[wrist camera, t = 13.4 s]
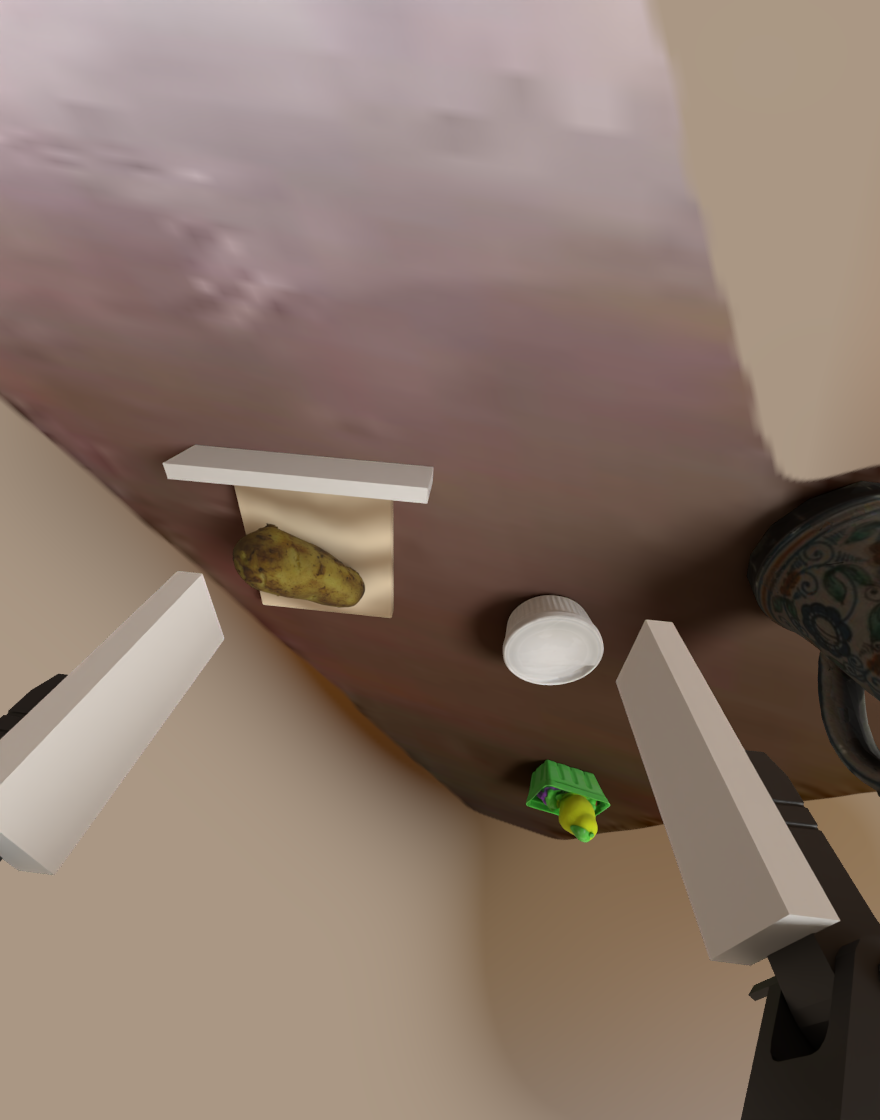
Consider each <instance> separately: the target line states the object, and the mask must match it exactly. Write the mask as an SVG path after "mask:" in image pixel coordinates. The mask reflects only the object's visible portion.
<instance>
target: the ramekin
mask: <svg viewBox="0 0 880 1120" xmlns="http://www.w3.org/2000/svg"><path fill="white" fill-rule="evenodd" d="M603 650H604V647H603V641H602V637H601V635H600V633H599V631H598V629H597V628H596V627H595V625H594V624H593V623H592V622H591V620H590V618H589V617H588V615H587V613H586V612H585V611H584V609H583V608H582V607H581V606H580V605H579V604H578V603H576V602H575V601H573V600H571V599H568V598H566V597H562V596H556V595H543V596H538V597H534V598H531V599H529V600H527V601H525V602H524V603H522V604H520V605H519V606H518V607H517V608H516V609H515V610H514V611H513V612H512V613H511V615H510V617H509V620H508V623H507V629H506V636H505V640H504V643H503V658H504V662H505V664H506V666H507V667H508V669H509V670H510V671H511V672H512V673H513V674H515V675H516V676H517V677H519V678H521V679H523V680H525V681H528V682H531V683H535V684H541V685H559V684H565V683H569V682H573V681H575V680H578V679H580V678H582V677H584V676H586V675H587V674H589V673H590V672H591V671H592V670H593V669H594V668H595V667H596V666H597V665H598V664H599V662H600V660H601V658H602V655H603Z"/></svg>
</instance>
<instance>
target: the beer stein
mask: <svg viewBox="0 0 880 1120" xmlns="http://www.w3.org/2000/svg"><path fill="white" fill-rule="evenodd" d="M747 578H748V580H749V583H750V585H751V588H752V590H753V593H754V595H755V598H756V600H757V602H758V605H759V607H760V608H761V609H762V611H763V612H764V613H765V614H766V615H767V616H768V617H769V618H770V619H771V620H772V621H774V622H775V623H777V624H778V625H780V626H782V627H783V628H786V629H788V630H790V631H793V632H795V633H797V634H799V635H800V636H802V637H803V638H805V639H806V640H807V641H809V642H810V643H811V644H813V645H814V646H815V647H817V648H818V649H819V650H820V655H819V661H818V694H819V703H820V708H821V715H822V720H823V723H824V727H825V730H826V733H827V735H828V738H829V740H830V743H831V745H832V746H833V748H834V750H835V752H836V753H837V755H838V756H839V758H840V759H841V761H842V762H843V763H844V765H845V766H846V767H847V768H848V769H849V770H850V771H851V772H852V773H853V774H854V775H855V776H856V777H858V778H859V779H860V780H861V781H862V782H864V783H865V784H867V785H868V786H870V787H872V788H873V789H875V790H877V793H878V795H879V797H880V751H879V749H878V747H877V746H876V744H875V742H874V739H873V737H872V734H871V731H870V728H869V725H868V720H867V714H866V707H865V695H864V690H866V691H867V692H869V693H870V694H871V695H872V696H874V697H875V698H876V699H878V700H879V701H880V483H873V482H865V481H860V482H857V483H854V484H852V485H849V486H846V487H843V488H840V489H837V490H835V491H832V492H829V493H826V494H823V495H820V496H818V497H815V498H812V499H809V500H807V501H806V502H804V503H803V504H801V505H800V506H799V507H797V508H796V509H794V510H793V511H791V512H790V513H789V514H787V515H786V516H784V517H783V518H781V519H780V520H779V521H777V522H776V523H774V524H773V525H772V526H770V528H769V529H768V531H767V532H766V533H765V535H764V536H763V538H762V539H761V541H760V542H759V543H758V545H757V546H756V548H755V549H754V550H753V552H752V553H751V555H750V560H749V566H748V572H747Z"/></svg>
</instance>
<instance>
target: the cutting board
mask: <svg viewBox="0 0 880 1120" xmlns="http://www.w3.org/2000/svg"><path fill="white" fill-rule="evenodd" d="M234 487H235V491H236V496H237V500H238V504H239V508H240V512H241V516H242V520H243V524H244V528H245V532H246V535H247V534H249V533H252V532H254V531H256V530H258V529H259V528H263V527H265V526H267V524H266V523H268V524H274V525H276V526H277V527H278V529H280V530H282V531H285V532H287V533H289V534H291V535H293V536H295V537H298V538H300V539H302V540H304V541H306V542H309V543H311V544H314V545H316V546H318V547H320V548H322V549H324V550H325V551H327V552H328V553H330V554H331V555H333V556H334V557H335V558H336V559H338V560H339V561H341V562H343V564H344V565H345V566H347V567H351V568H352V569H354V570H356V572H358V573H359V575H360V576H361V578H362V579H363V581H364V584H365V593H364V595H363V597H362V598H361V600H360V601H359V602H358V603H357V604H356V605H355V606H352V607H341V608H338V607H332V606H326V605H321V604H318V603H315V602H311V601H308V600H302V599H294V598H287V597H283V596H277V595H274V594H270V593H266V592H263V591H260V594H261V598H262V602H263V605H272V606H282V607H291V608H301V609H310V610H320V611H329V612H339V613H348V614H358V615H367V616H377V617H386V618H391V617H392V614H393V500H385V499H374V498H364V497H354V496H343V495H333V494H322V493H312V492H301V491H291V490H280V489H270V488H259V487H249V486H239V485H234Z"/></svg>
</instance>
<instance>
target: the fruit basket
mask: <svg viewBox="0 0 880 1120" xmlns="http://www.w3.org/2000/svg"><path fill="white" fill-rule="evenodd" d="M526 805H527V806H529V807H532V808H536V809H539V810H543V811H546V812H550V813H553V814H556V815H559V822H560V824H561V826H562V827H563V828H564V829H565V830H566V831H569V832H570V833H571V834H573V835H575V836H576V837H577V839H578V840H580V841H582V842H589V841H590V840H591V839H592V838H594V836H595V835H596V833H597V823H596V821H595V816H597V815H598V814H599V813H601V812H602V811H604V810H605V809H607V808H608V807H609V806H610V803H609V802H608V800H607V798H606V797H605V796H604V794H603V792H602V790H601V788H600V786H599V784H598V782H597V780H596V778H595V776H594V775H593V774H592V773H588V772H583V771H581V770H579V769H576V768H571V767H568V766H566V765H563V764H559V763H555V762H554V761H550V760H545V762H544V763H543V764H541V765H540V766H539V767H538V768H537V769H536V771H535V772H533V773H532V777H531V783H530V789H529V795H528V797H527V802H526Z"/></svg>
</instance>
